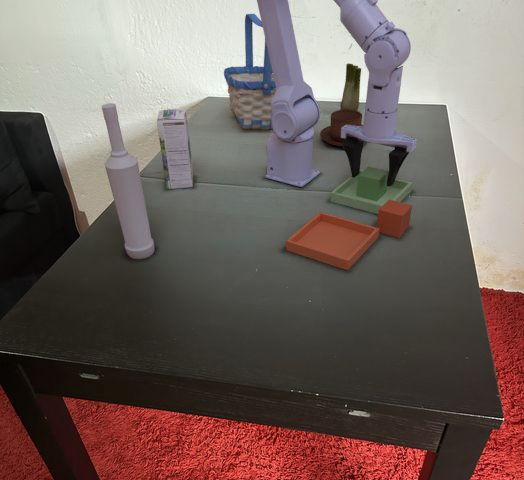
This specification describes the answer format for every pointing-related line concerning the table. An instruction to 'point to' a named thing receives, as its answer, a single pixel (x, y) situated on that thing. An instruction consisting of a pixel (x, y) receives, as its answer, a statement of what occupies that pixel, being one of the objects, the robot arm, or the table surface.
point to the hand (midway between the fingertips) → (372, 179)
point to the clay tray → (333, 240)
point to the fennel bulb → (351, 88)
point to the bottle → (127, 190)
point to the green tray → (348, 197)
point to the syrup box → (175, 148)
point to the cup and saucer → (340, 126)
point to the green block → (372, 183)
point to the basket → (251, 85)
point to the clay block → (394, 218)
